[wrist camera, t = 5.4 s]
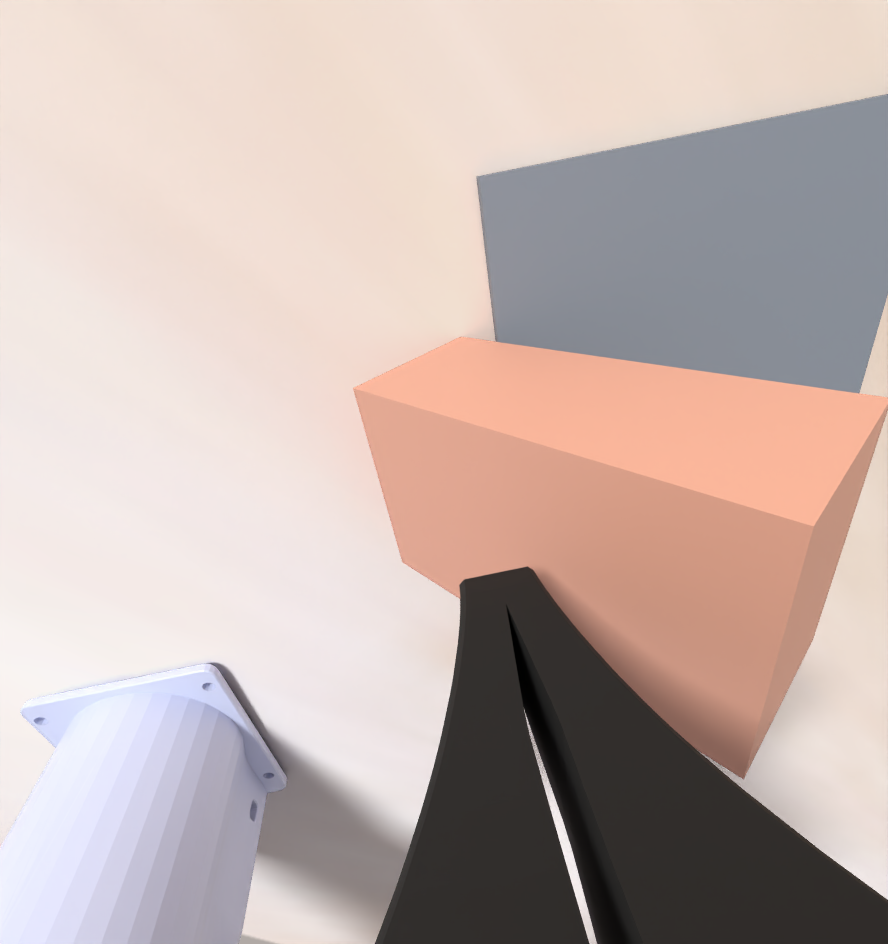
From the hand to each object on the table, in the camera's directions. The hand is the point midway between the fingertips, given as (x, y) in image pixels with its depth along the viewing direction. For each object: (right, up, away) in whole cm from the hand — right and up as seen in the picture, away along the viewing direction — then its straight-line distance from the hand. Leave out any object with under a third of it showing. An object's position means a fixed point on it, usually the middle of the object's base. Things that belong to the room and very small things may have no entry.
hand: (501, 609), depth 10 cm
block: (-2, +3, +6) cm, 7 cm away
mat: (+7, +6, +7) cm, 11 cm away
